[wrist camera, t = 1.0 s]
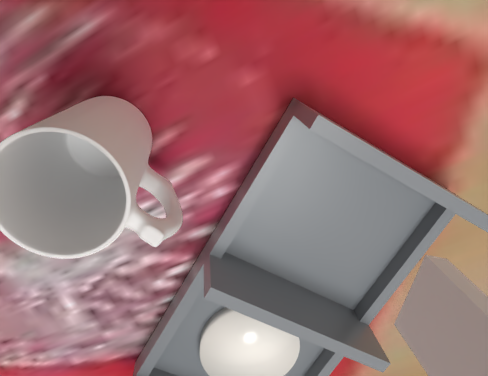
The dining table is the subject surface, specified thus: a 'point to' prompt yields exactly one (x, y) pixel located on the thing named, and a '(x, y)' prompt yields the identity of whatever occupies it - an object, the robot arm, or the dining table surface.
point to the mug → (82, 181)
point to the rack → (309, 248)
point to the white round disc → (245, 347)
